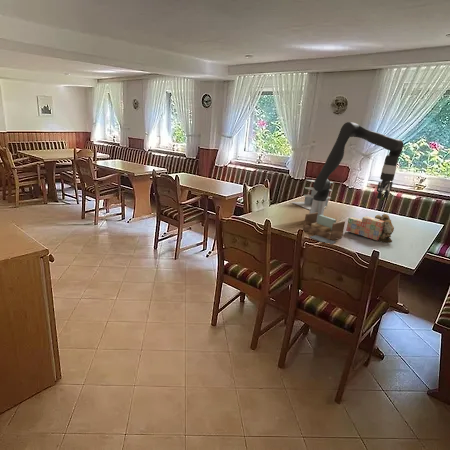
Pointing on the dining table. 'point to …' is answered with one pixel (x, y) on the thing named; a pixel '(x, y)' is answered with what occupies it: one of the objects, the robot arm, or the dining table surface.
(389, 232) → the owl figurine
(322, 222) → the panel
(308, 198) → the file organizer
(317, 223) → the offcut stack
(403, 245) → the dining table surface
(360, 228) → the stack of blocks
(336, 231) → the rack
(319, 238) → the pad
